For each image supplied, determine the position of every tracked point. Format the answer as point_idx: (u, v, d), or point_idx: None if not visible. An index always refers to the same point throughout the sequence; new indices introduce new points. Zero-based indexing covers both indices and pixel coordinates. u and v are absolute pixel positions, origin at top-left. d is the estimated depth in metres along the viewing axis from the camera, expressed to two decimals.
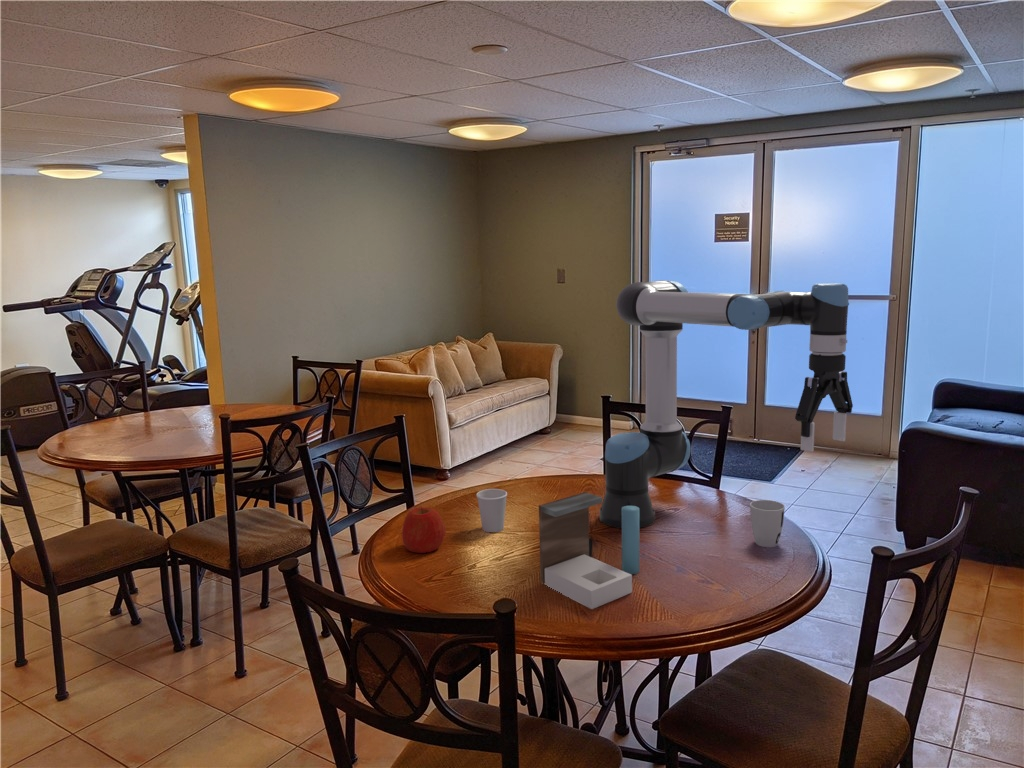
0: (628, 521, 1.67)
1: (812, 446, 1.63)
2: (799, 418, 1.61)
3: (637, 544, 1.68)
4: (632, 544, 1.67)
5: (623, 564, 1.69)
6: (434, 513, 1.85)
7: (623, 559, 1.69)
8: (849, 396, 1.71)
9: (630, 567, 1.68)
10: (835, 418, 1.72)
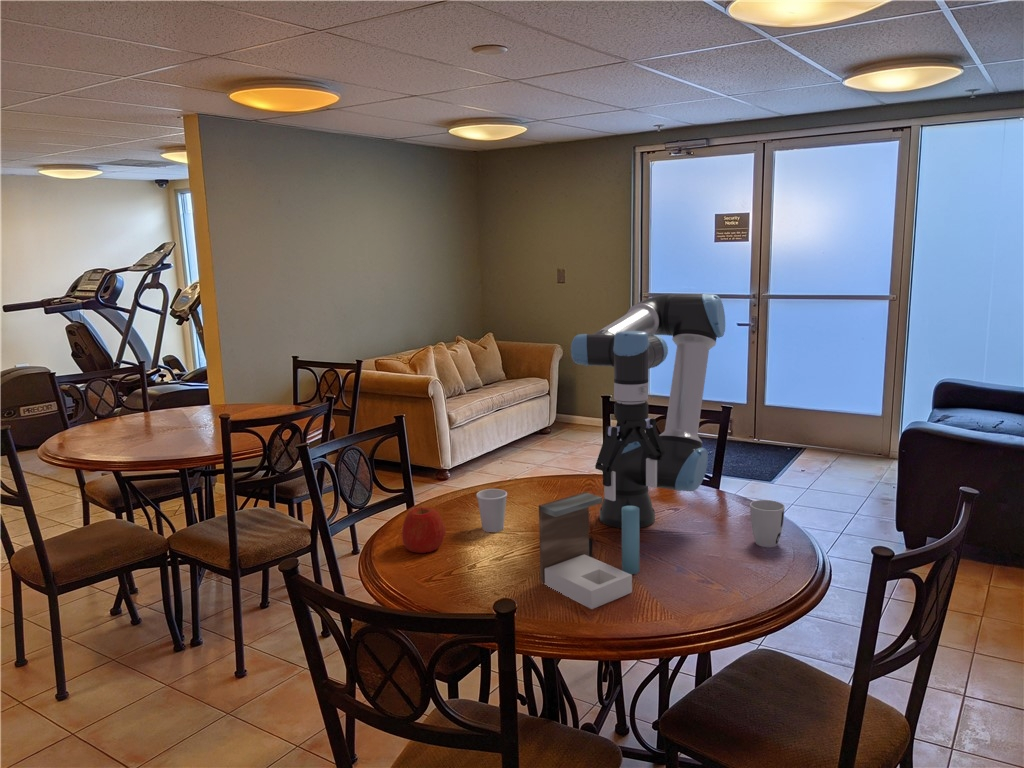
0: (628, 521, 1.67)
1: (613, 495, 1.62)
2: (598, 468, 1.60)
3: (637, 544, 1.68)
4: (632, 544, 1.67)
5: (623, 564, 1.69)
6: (434, 513, 1.85)
7: (623, 559, 1.69)
8: (660, 443, 1.70)
9: (630, 567, 1.68)
10: (647, 464, 1.71)
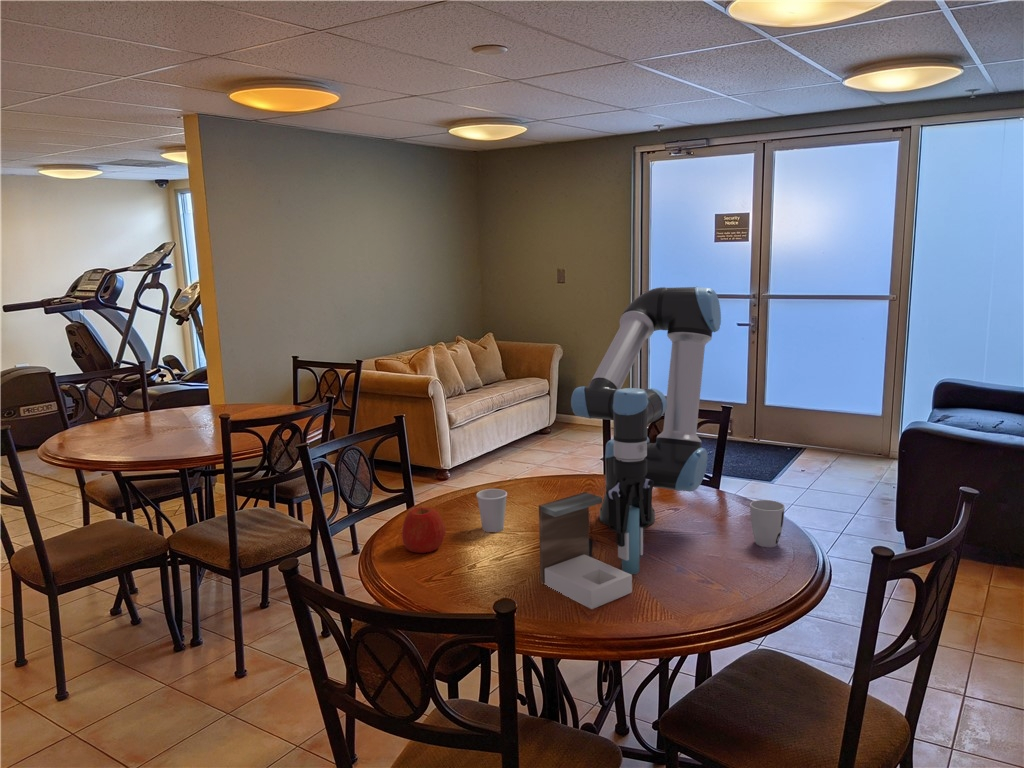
0: (628, 521, 1.67)
1: (627, 555, 1.67)
2: (612, 530, 1.66)
3: (637, 544, 1.68)
4: (632, 544, 1.67)
5: (623, 564, 1.69)
6: (434, 513, 1.85)
7: (623, 559, 1.69)
8: (650, 508, 1.70)
9: (630, 567, 1.68)
10: None
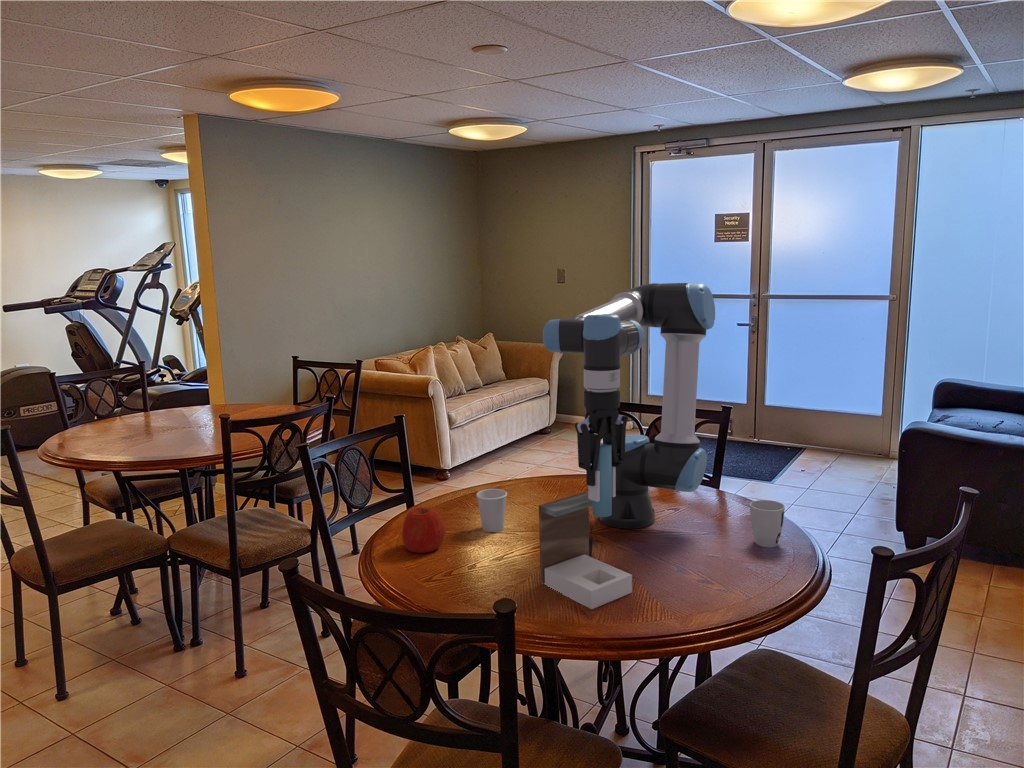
0: (599, 459, 1.54)
1: (598, 496, 1.54)
2: (582, 467, 1.52)
3: (609, 484, 1.55)
4: (603, 483, 1.54)
5: (594, 506, 1.56)
6: (434, 513, 1.85)
7: (594, 501, 1.56)
8: (623, 446, 1.57)
9: (601, 509, 1.55)
10: None
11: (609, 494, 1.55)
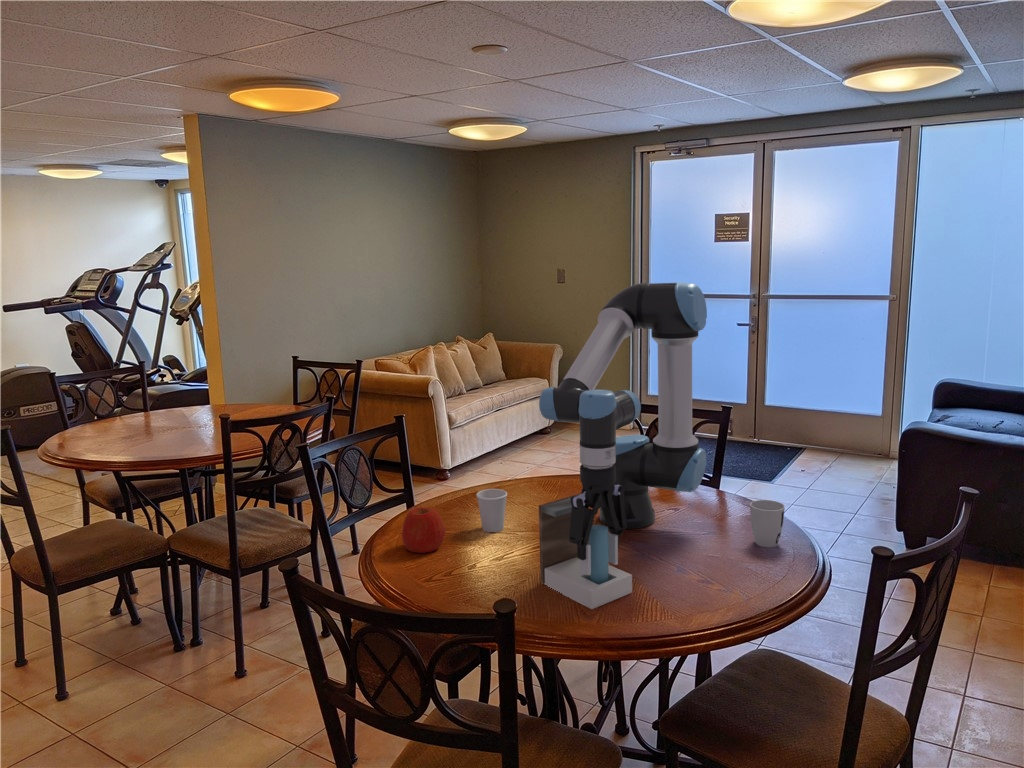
0: (596, 542, 1.55)
1: (589, 569, 1.54)
2: (572, 542, 1.53)
3: (606, 566, 1.57)
4: (600, 566, 1.56)
5: None
6: (434, 513, 1.85)
7: None
8: (623, 515, 1.59)
9: None
10: None
11: (606, 576, 1.57)
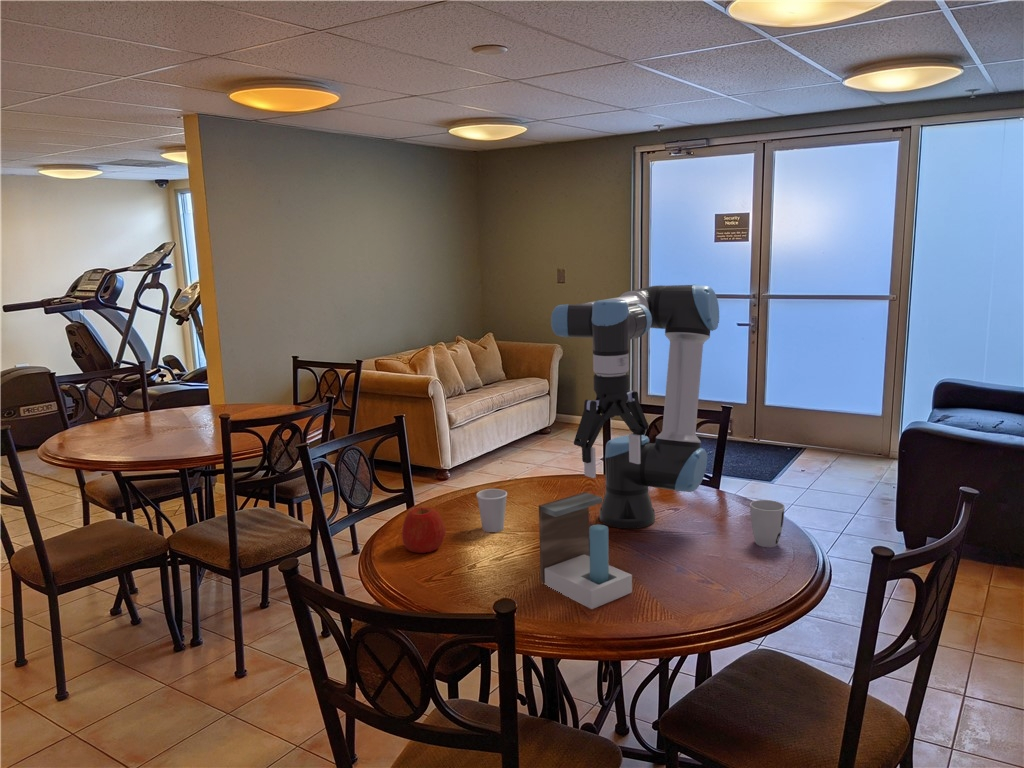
0: (596, 542, 1.55)
1: (594, 472, 1.55)
2: (577, 443, 1.53)
3: (606, 566, 1.57)
4: (600, 566, 1.56)
5: None
6: (434, 513, 1.85)
7: None
8: (643, 417, 1.62)
9: None
10: (630, 440, 1.64)
11: (606, 576, 1.57)
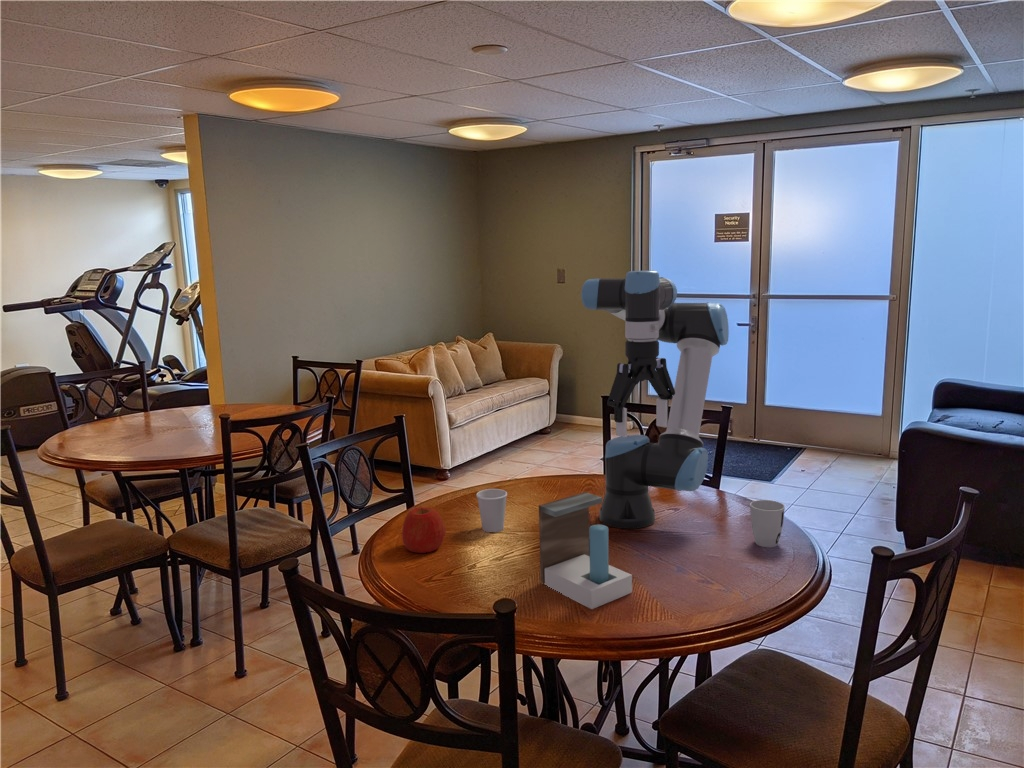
0: (596, 542, 1.55)
1: (625, 431, 1.65)
2: (610, 404, 1.63)
3: (606, 566, 1.57)
4: (600, 566, 1.56)
5: None
6: (434, 513, 1.85)
7: None
8: (670, 383, 1.73)
9: None
10: (658, 405, 1.74)
11: (606, 576, 1.57)
